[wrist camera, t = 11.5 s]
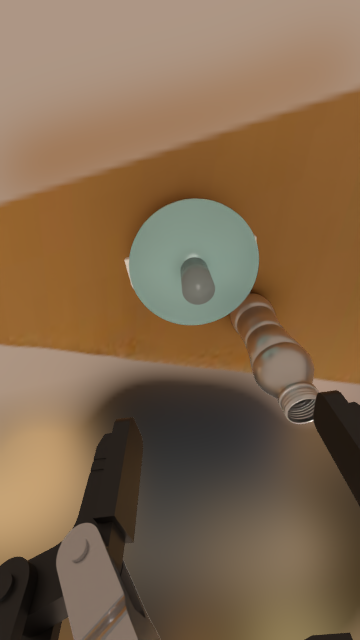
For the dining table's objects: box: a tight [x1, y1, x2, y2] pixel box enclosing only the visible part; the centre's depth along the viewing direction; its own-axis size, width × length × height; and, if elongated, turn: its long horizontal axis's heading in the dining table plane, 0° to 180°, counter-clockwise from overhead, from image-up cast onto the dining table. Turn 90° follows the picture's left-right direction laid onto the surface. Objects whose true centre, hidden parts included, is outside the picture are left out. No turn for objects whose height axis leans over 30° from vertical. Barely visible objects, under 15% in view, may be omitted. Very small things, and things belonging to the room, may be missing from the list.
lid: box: [129, 198, 259, 325], centre depth 25 cm, size 14×14×6 cm
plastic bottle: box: [230, 293, 319, 424], centre depth 31 cm, size 6×7×20 cm
